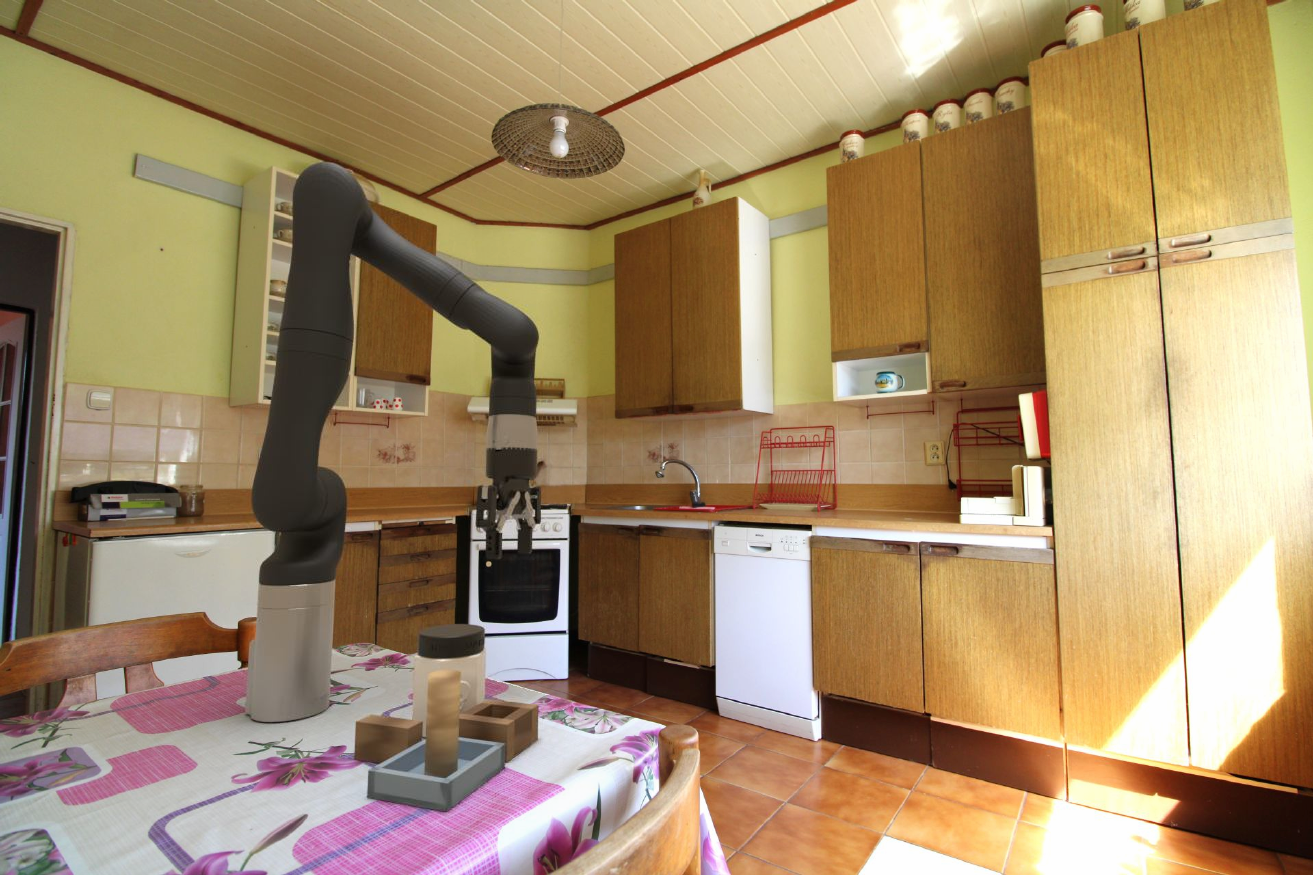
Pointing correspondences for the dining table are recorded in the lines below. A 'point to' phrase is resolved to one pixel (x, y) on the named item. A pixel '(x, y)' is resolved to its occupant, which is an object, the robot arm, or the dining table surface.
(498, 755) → the tray
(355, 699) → the dining table surface
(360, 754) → the block
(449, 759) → the dowel
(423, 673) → the jar
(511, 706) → the socket block
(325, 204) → the robot arm
